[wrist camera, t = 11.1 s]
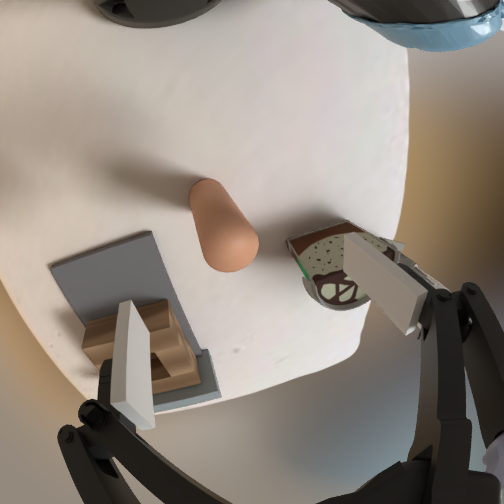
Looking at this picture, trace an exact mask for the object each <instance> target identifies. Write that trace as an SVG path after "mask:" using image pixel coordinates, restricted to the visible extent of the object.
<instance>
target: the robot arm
mask: <svg viewBox="0 0 504 504" xmlns="http://www.w3.org/2000/svg"><path fill="white" fill-rule="evenodd" d="M220 1H221V0H93V2H94V4H95V5H96V6H97V8H98V9H99V11H100V12H101V13H102V14H103V15H104V16H105V17H107V18H108V19H110V20H111V21H113V22H115V23H118V24H121V25H124V26H128V27H134V28H160V27H167V26H172V25H176V24H180V23H183V22H186V21H189V20H191V19H194V18H196V17H198V16H200V15H202V14H204V13H206V12H207V11H209V10H210V9H212V8H213V7H215V6H216V5H217V4H218V3H219V2H220ZM328 1H329V2H331V3H333V4H334V5H336V6H338V7H339V8H341V9H342V11H343V12H344V13H345V14H346V15H347V16H349V17H351V18H353V19H354V20H356V21H359V22H361V23H364V24H366V25H367V26H369V27H370V28H372V29H373V30H375V31H376V32H378V33H379V34H381V35H382V36H383V37H385V38H386V39H388V40H390V41H392V42H394V43H395V44H398V45H400V46H403V47H406V48H417V49H420V50H423V51H430V52H442V51H443V52H444V51H454V50H459V49H464V48H467V47H472V46H474V45H477V44H479V43H482V42H484V41H486V40H487V39H489V38H490V37H492V36H493V35H494V34H495V33H496V32H497V31H498V30H499V29H500V28H501V26H502V20H501V18H504V2H503V0H328ZM343 271H344V272H345V273H346V274H347V275H348V276H349V277H350V278H351V279H352V280H353V281H354V282H355V283H356V284H357V285H358V286H359V287H360V288H361V289H362V290H363V291H364V292H365V293H366V294H367V295H368V296H369V297H370V298H371V299H372V300H373V301H374V302H375V303H376V304H377V306H378V307H379V308H380V309H381V310H382V311H383V312H384V313H385V314H386V315H387V316H388V317H389V318H390V319H391V320H392V321H393V322H394V324H395V325H396V326H397V327H398V328H399V329H400V330H401V331H402V332H403V333H404V334H405V335H407V334H409V333H411V332H412V331H414V330H415V329H416V327H417V324H418V322H419V323H420V324H421V325H422V326H421V329H420V332H419V335H418V338H417V339H419V338H420V336H421V374H420V393H419V405H418V414H417V424H416V430H415V437H414V441H413V444H412V446H411V448H410V451H409V454H408V458H407V462H403V463H401V462H400V461H399V462H397V463H395V464H394V465H392V466H390V467H389V468H387V469H386V470H384V471H382V472H381V473H379V474H377V475H376V476H375V477H373V478H372V479H370V480H369V481H367V482H366V483H365V484H364V485H363V486H361V487H360V488H359V489H357V490H356V491H355V492H354V493H350V494H345V495H341V496H337V497H332V498H329V499H326V500H324V501H321V502H319V503H317V504H502V489H503V488H504V332H503V330H502V328H501V326H500V324H499V322H498V320H497V318H496V316H495V314H494V312H493V310H492V308H491V307H490V305H489V303H488V301H487V299H486V298H485V296H484V294H483V292H482V291H481V289H480V288H479V287H478V286H477V285H476V284H474V283H471V282H467V283H464V284H463V285H462V288H461V291H457V292H453V293H451V292H450V291H448V290H447V289H443V288H439V289H435V288H434V287H433V286H432V285H431V284H429V283H428V282H427V281H426V280H424V279H423V278H422V277H421V276H419V275H418V274H417V273H416V272H414V271H413V270H412V269H411V268H410V267H408V266H407V265H404V264H402V263H397V264H395V263H394V262H393V261H392V260H390V259H389V258H388V257H386V256H385V255H384V254H383V253H381V252H380V251H379V250H377V249H376V248H375V247H374V246H372V245H371V244H370V243H368V242H367V241H366V240H364V239H363V238H362V237H360V236H359V235H358V234H356V233H355V232H352V233H348V234H345V235H344V264H343ZM470 319H471V320H470ZM471 321H472V322H471ZM464 367H465V369H464ZM465 370H466V373H467V376H468V380H469V383H470V387H471V390H472V394H473V398H474V402H475V406H476V410H477V415H478V419H479V425H480V430H481V434H482V438H483V441H484V444H485V447H486V449H487V451H486V454H485V455H484V456H483V463H484V464H485V465H487V468H486V471H485V472H479V471H471V470H468V468H469V461H470V451H471V438H472V423H471V420H469V419H467V418H466V389H465V388H466V387H465ZM99 377H100V378H99V385H98V398H97V400H95V399H90V400H87V401H85V402H84V403H83V404H82V405H81V406H80V408H79V411H78V417H79V419H80V421H81V422H82V423H83V424H85V425H83V426H81V427H78V428H75V427H74V426H72V425H65V426H63V427H62V428H61V429H60V430H59V432H58V436H57V438H58V443H59V446H60V449H61V452H62V454H63V457H64V460H65V462H66V465H67V467H68V470H69V472H70V475H71V477H72V479H73V481H74V484H75V486H76V488H77V490H78V492H79V494H80V496H81V498H82V500H83V502H84V504H141V503H140V502H139V501H138V499H137V498H136V496H135V495H134V494H133V492H132V490H131V489H130V487H129V486H128V484H127V483H126V481H125V479H124V478H123V476H122V474H121V473H120V471H119V469H118V468H117V466H116V464H115V462H114V461H113V459H112V457H115V458H116V459H117V460H118V461H119V462H120V463H121V464H122V465H123V466H124V467H125V468H126V469H127V470H128V471H129V472H130V473H131V474H132V475H133V476H134V477H135V478H136V479H137V480H138V481H139V482H140V483H141V484H142V485H144V486H145V487H146V488H147V489H148V490H149V491H150V492H151V493H153V494H154V495H155V496H156V497H157V498H159V499H160V500H161V501H162V502H163V503H165V504H232V503H230V502H229V501H227V500H225V499H224V498H222V497H220V496H219V495H217V494H215V493H213V492H212V491H210V490H209V489H207V488H206V487H204V486H203V485H201V484H200V483H198V482H197V481H196V480H194V479H192V478H191V477H190V476H188V475H187V474H185V473H184V472H183V471H182V470H180V469H179V468H178V467H176V466H175V465H174V464H172V463H171V462H170V461H168V460H167V459H166V458H164V456H162V455H161V454H160V453H159V452H157V451H156V450H155V449H154V448H153V447H152V446H150V445H149V444H148V443H147V442H146V441H145V440H144V439H143V438H141V437H140V436H139V435H138V434H137V433H136V427H138V428H139V429H140V430H147V429H153V428H155V419H154V409H153V397H152V383H151V365H150V333H149V331H148V329H147V328H146V326H145V324H144V322H143V321H142V319H141V317H140V315H139V313H138V311H137V310H136V308H135V306H134V304H133V302H132V300H128V301H125V302H122V303H119V310H118V317H117V324H116V332H115V341H114V351H113V358H111V359H106V360H104V361H103V363H102V365H101V368H100V374H99Z"/></svg>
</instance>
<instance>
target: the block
mask: <svg viewBox="0 0 504 504" xmlns="http://www.w3.org/2000/svg"><path fill="white" fill-rule="evenodd" d="M136 310H137V311H138V313H139V315H140V317H141V319H142V321H143V322H144V324H145V326H146V328H147V329H148V331H149V333H150V365H151V383H152V395H153V394H158V393H163V392H167V391H172V390H176V389H181V388H185V387H189V386H193V385H197V384H201V379H200V374H199V369H198V364H197V359H196V356H195V354H194V352H193V350H192V348H191V346H190V344H189V342H188V340H187V338H186V336H185V334H184V332H183V330H182V328H181V326H180V324H179V322H178V320H177V318H176V316H175V314H174V312H173V309H172V307H171V305H170V303H169V301H168V300H164V301H161V302H157V303H154V304H150V305H147V306H143V307H139V308H136ZM117 317H118V314H114V315H111V316H107V317H103V318H100V319H96V320H92V321H88V322H87V326H86V330H85V335H84V339H83V344H82V351H83V352H84V353H85V354H86V355H87V357H88V358H89V359H90V360H91V362H92V363H93V364H94V365H95V366H96V367H97V369H98V370H99V371H100V368H101V365H102V363H103V361H104V360H106V359H111V358H113V351H114V341H115V332H116V324H117Z"/></svg>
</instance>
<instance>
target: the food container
mask: <svg viewBox="0 0 504 504" xmlns="http://www.w3.org/2000/svg"><path fill="white" fill-rule="evenodd" d="M352 232H355V233H356V234H358V235H359V236H360V237H362V238H363V239H364V240H366V241H367V242H368V243H370V244H371V245H372V246H374V247H375V248H376V249H377V250H379V251H380V252H381V253H383V254H384V255H385V256H386V257H388V258H389V259H390V260H392V261H393V262H394V263H395V264H397V263H398V261H399V257H400V252H399V251H398V248H397V247H396V246H395V245H394V244H393V243H392V244H391V246H390V245H389V244H387V243H385V242H384V241H382V240H380V239H379V238H377V237H375V236H374V235H372V234H370V233H369V232H367V231H365V230H364V229H362V228H360V227H358V226H357V225H355V224H353V223H352V222H350V221H348V220H346V221H343V222H340V223H337V224H334V225H330V226H327V227H324V228H321V229H318V230H314V231H311V232H308V233H305V234H302V235H298V236H295V237H292V238H289V239H286V241H287V246H288V248H289V250H290V251H291V253H292V255H293V256H294V258H295V260H296V262H297V263H298V265H299V267H300V268H301V270H302V272H303V274H304V275H305V277H306V278H304V277H302V279H303V284H304V286H305V289H306V291H307V292H308V294H309V295H310V296H311V297H312V298H313V299H314V300H316V301H317V302H318V303H320V304H321V305H322V306H324V307H326V308H329V309H332V310H335V311H346V310H351V309H354V308H357V307H359V306H361V305H363V304H365V303H366V302H368V301H369V300H371V298H370V297H369V296H368V295H367V294H366V293H365V292H364V291H363V290H362V289H361V288H360V287H359V286H358V285H357V284H356V283H355V282H354V281H353V280H352V279H351V278H350V277H349V276H348V275H347V274H346V273H345V272H344V271H343V264H344V235H345V234H348V233H352Z"/></svg>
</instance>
